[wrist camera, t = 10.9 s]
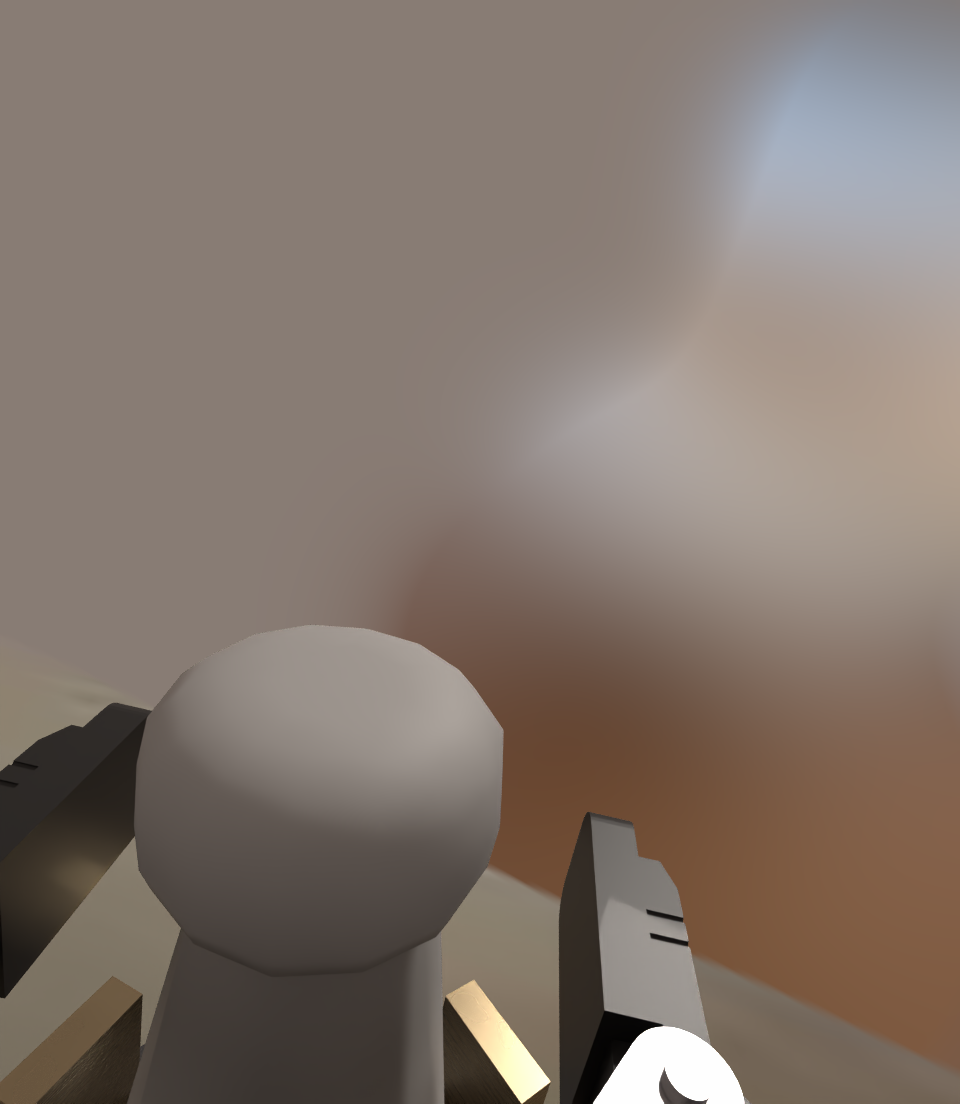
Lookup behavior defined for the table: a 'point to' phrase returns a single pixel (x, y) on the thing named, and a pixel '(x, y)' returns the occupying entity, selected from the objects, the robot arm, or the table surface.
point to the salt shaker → (311, 866)
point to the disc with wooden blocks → (114, 1046)
